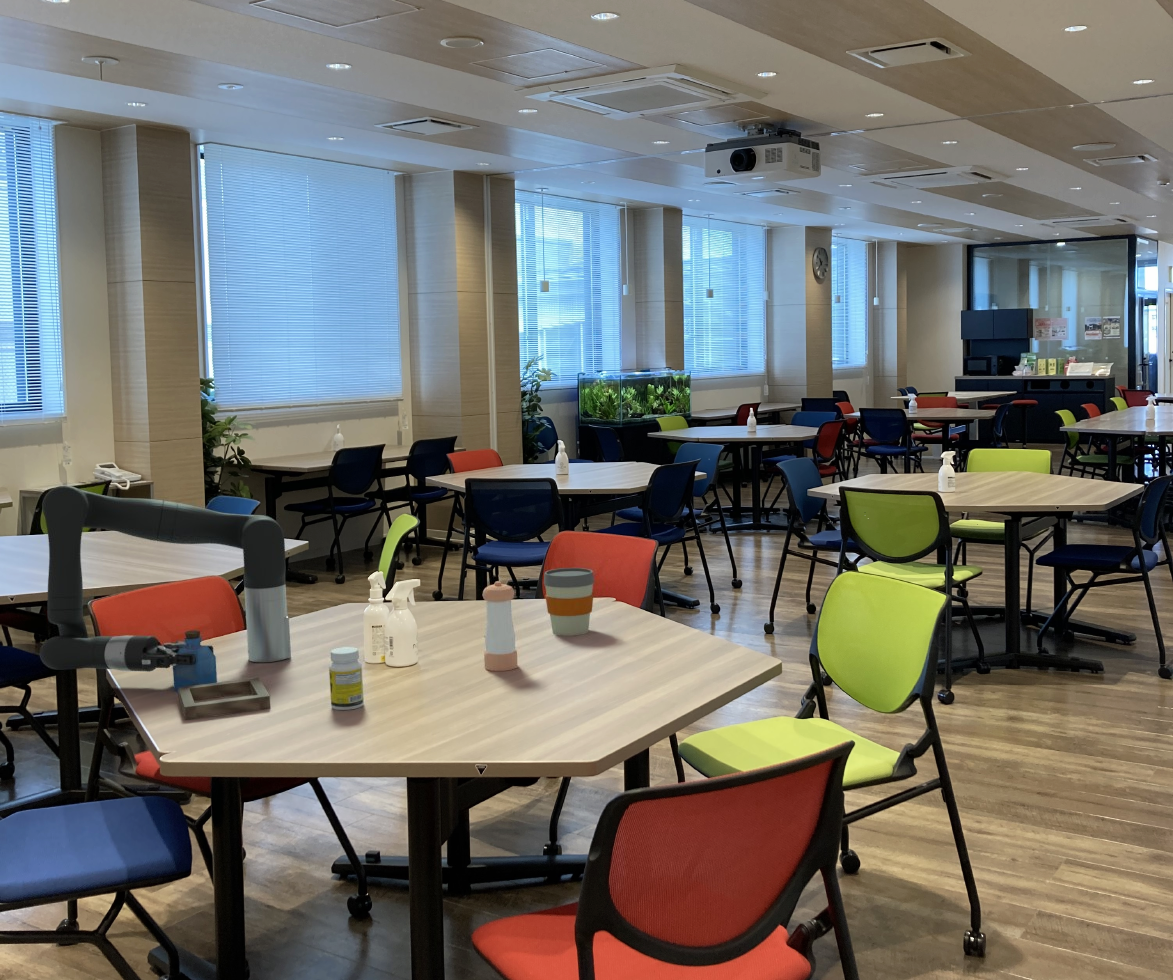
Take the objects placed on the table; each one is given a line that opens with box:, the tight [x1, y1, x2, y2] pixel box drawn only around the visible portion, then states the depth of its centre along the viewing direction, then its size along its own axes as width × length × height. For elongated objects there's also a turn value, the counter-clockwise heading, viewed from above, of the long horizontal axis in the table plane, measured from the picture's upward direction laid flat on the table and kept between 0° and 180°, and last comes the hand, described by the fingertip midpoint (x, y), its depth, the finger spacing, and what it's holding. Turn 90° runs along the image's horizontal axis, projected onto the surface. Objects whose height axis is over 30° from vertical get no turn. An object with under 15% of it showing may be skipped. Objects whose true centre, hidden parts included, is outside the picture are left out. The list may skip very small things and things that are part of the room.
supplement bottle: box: [328, 646, 364, 711], centre depth 232 cm, size 6×6×11 cm
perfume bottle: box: [172, 629, 218, 691], centre depth 249 cm, size 6×6×12 cm
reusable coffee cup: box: [543, 567, 595, 636], centre depth 292 cm, size 13×13×15 cm
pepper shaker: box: [482, 580, 519, 672], centre depth 259 cm, size 7×7×19 cm
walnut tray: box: [177, 677, 271, 721], centre depth 237 cm, size 16×16×2 cm
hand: (203, 655), depth 249 cm, fingers closed on perfume bottle, 6 cm apart
